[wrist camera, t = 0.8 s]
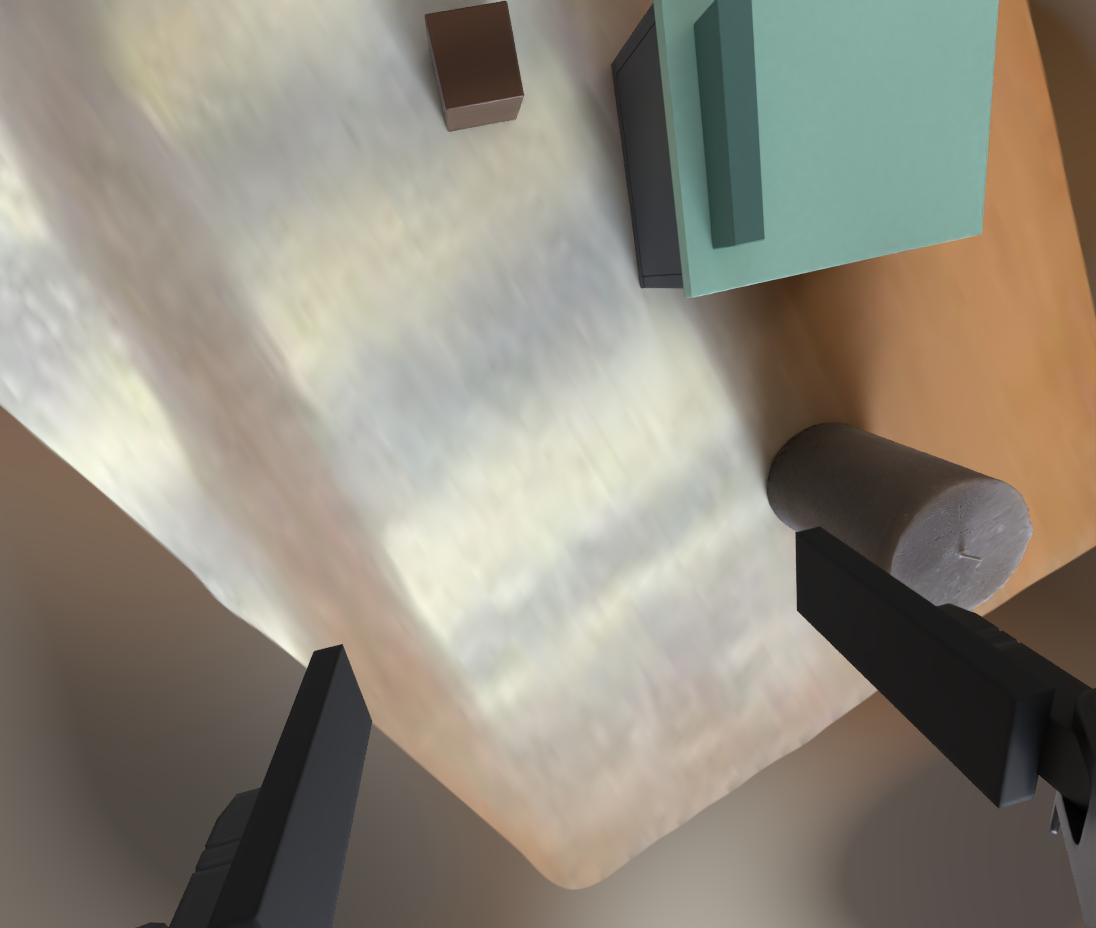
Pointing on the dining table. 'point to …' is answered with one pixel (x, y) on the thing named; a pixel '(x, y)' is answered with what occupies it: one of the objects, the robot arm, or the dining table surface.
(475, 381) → the dining table surface
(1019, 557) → the pillar candle
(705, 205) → the lid
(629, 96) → the bin
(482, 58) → the block
